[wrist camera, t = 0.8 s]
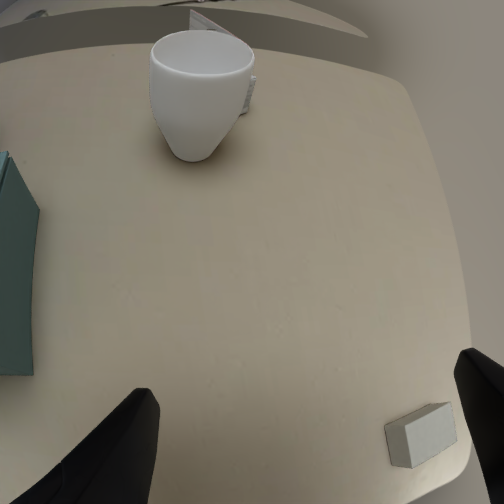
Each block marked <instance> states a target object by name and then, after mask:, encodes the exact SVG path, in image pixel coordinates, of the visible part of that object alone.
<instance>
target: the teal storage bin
mask: <svg viewBox="0 0 504 504" xmlns="http://www.w3.org/2000/svg"><path fill="white" fill-rule="evenodd" d="M8 156H9V153H8V151H5V152H0V375H33V364H32V345H31V294H32V274H33V260H34V249H35V240H36V232H37V224H38V217H39V210H40V209H39V208H38V206H37V204H36V202H35V201H34V199H33V197H32V195H31V193H30V192H29V190H28V188H27V186H26V184H25V182H24V180H23V178H22V176H21V175H20V173H19V171H18V169H17V167H16V165H15V163H14V161H13V159H12V157H9V158H8Z"/></svg>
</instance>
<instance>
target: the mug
mask: <svg viewBox="0 0 504 504" xmlns="http://www.w3.org/2000/svg"><path fill="white" fill-rule="evenodd" d="M253 67H254V54H253V51H252V50H251V48H250V47H249V46H248V45H247V44H246V43H244V42H243V41H241V40H239V39H238V38H235V37H233V36H231V35H228V34H224V33H220V32H215V31H208V30H189V31H182V32H178V33H173V34H170V35H167V36H165V37H164V38H162V39H160V40H159V41H158V42H156V43H155V45H154V46H153V47H152V50H151V53H150V61H149V91H150V103H151V108H152V112H153V115H154V117H155V120H156V122H157V124H158V126H159V128H160V130H161V132H162V134H163V136H164V137H165V139H166V141H167V143H168V145H169V146H170V148H171V150H172V152H173V153H174V155H175V156H177V157H178V158H179V159H182V160H184V161H189V162H196V161H201V160H204V159H206V158H207V157H209V156H210V155H211V153H212V152H213V151H214V150H215V148H216V147H217V146H218V145H219V143H220V142H221V141H222V139H223V138H224V137H225V136H226V134H227V133H228V132H229V131H230V129H231V128H232V127H233V125H234V124H235V122H236V120H237V119H238V117H239V115H240V113H241V111H242V108H243V106H244V102H245V99H246V95H247V91H248V87H249V83H250V79H251V75H252V71H253Z"/></svg>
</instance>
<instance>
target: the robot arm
mask: <svg viewBox="0 0 504 504" xmlns="http://www.w3.org/2000/svg"><path fill="white" fill-rule="evenodd" d="M454 378H455V382H456V385H457V389H458V393H459V396H460V400H461V404H462V408H463V412H464V416H465V420H466V423H467V426H468V428H469V431H470V434H471V437H472V440H473V443H474V446H475V449H476V452H477V456H478V459H479V462H480V465H481V469H482V472H483V476H484V479H485V483H486V487H487V490H488V494H489V498H490V503H491V504H504V367H502V366H501V365H499V364H498V363H496V362H495V361H493V360H491V359H490V358H489V357H487V356H486V355H484V354H483V353H481V352H479V351H478V350H476V349H475V348H468V349H465V350H462V351H461V352H460V354H459V357H458V360H457V363H456V366H455V368H454ZM159 419H160V407H159V404H158V402H157V400H156V399H155V397H154V395H153V393H152V391H151V390H150V389H149V388H136V389H134V390H133V391H132V392H131V393H130V394H129V395H128V396H127V397H126V398H125V399H124V400H123V401H122V402H121V403H120V404H119V405H118V406H117V407H116V408H115V409H114V410H113V411H112V412H111V413H110V414H109V415H108V416H107V417H106V418H105V419H104V420H103V421H102V422H101V423H100V424H99V425H98V426H97V427H96V428H95V429H94V430H92V431H91V432H90V433H89V434H88V435H87V436H86V437H85V438H84V439H83V440H82V441H81V442H80V443H79V444H78V445H77V446H76V447H75V448H74V449H73V450H72V451H71V452H70V453H69V454H68V455H67V456H66V457H65V458H64V459H63V460H62V461H61V463H58V464H57V465H56V466H55V467H54V468H53V469H52V470H51V471H50V472H49V473H48V474H46V475H45V476H44V477H43V478H42V479H41V480H40V481H38V482H37V483H36V484H35V485H33V486H32V487H31V488H30V489H28V490H27V491H26V492H24V493H23V494H22V495H20V496H19V497H18V498H16V499H15V500H13V501H12V502H11V503H9V504H147V502H148V497H149V491H150V486H151V481H152V475H153V470H154V465H155V460H156V453H157V442H158V430H159Z"/></svg>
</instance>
